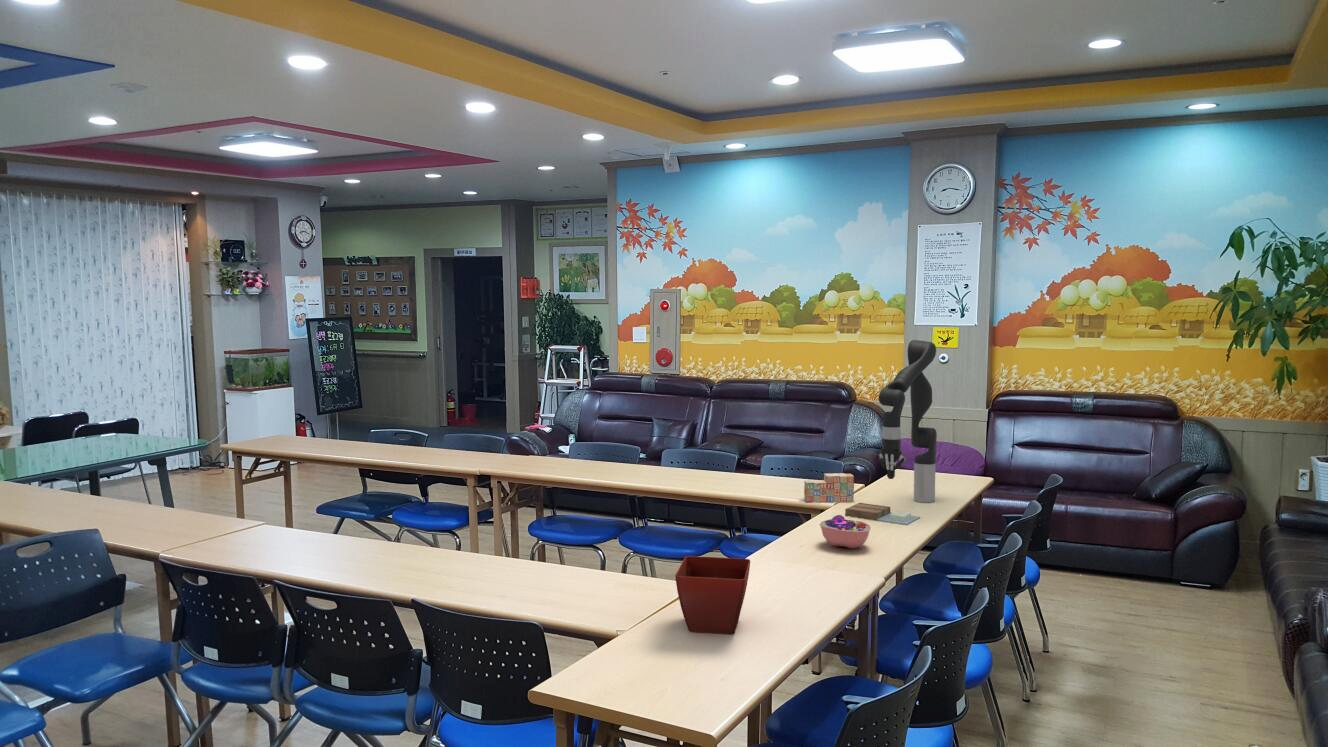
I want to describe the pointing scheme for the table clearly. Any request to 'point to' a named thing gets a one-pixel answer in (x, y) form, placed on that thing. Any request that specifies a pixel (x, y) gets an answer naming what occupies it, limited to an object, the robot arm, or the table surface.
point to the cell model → (845, 532)
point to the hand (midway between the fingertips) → (890, 478)
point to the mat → (887, 519)
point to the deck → (867, 511)
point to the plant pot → (712, 592)
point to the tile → (900, 516)
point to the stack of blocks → (830, 489)
